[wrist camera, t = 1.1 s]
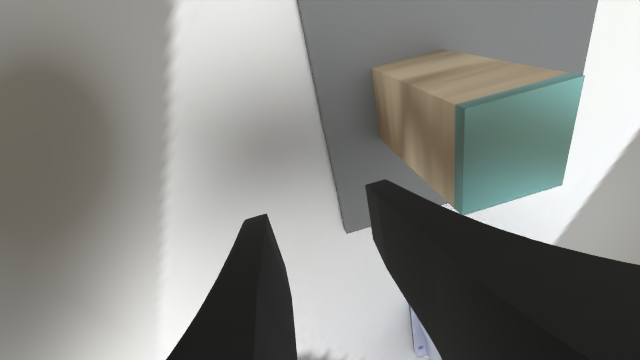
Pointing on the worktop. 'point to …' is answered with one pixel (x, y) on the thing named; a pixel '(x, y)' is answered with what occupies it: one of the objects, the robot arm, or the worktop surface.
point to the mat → (410, 41)
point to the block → (478, 124)
